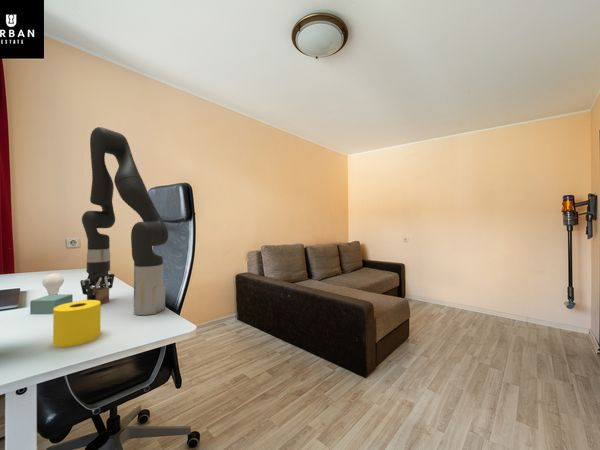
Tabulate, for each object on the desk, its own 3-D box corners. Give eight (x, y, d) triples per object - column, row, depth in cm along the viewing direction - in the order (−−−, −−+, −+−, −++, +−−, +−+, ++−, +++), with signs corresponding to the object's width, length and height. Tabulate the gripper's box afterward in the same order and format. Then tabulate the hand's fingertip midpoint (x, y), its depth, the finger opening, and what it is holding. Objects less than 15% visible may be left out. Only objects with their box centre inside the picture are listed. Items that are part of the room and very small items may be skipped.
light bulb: (68, 297, 112) (68, 272, 112) (51, 301, 105) (52, 275, 105) (54, 296, 112) (54, 271, 112) (37, 301, 106) (37, 274, 106)
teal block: (72, 307, 99) (72, 294, 99) (54, 314, 91) (54, 300, 91) (50, 307, 98) (50, 294, 98) (30, 314, 90) (30, 300, 90)
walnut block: (109, 301, 105) (109, 287, 105) (98, 305, 100) (98, 290, 100) (97, 301, 106) (97, 287, 106) (86, 305, 101) (86, 290, 101)
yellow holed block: (45, 350, 65) (45, 313, 65) (63, 334, 74) (63, 302, 74) (93, 343, 69) (93, 308, 69) (104, 329, 78) (105, 298, 78)
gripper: (91, 263, 96) (91, 308, 96) (121, 258, 110) (120, 297, 110) (73, 262, 96) (72, 307, 96) (104, 257, 110) (104, 296, 110)
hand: (98, 301), depth 103 cm, fingers closed on walnut block, 5 cm apart
